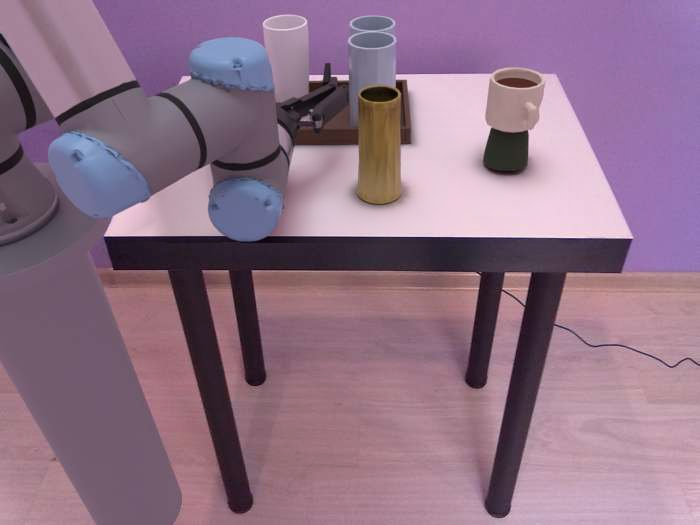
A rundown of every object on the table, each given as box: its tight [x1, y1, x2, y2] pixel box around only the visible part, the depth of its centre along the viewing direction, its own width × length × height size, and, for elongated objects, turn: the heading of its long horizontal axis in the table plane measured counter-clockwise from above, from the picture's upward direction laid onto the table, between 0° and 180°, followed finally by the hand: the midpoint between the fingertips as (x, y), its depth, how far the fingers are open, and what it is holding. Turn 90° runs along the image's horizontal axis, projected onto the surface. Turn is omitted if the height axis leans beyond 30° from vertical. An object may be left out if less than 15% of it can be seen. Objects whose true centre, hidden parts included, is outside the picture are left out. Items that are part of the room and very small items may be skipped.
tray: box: [275, 79, 412, 146], centre depth 101 cm, size 26×18×3 cm
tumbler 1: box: [349, 14, 396, 38], centre depth 100 cm, size 7×7×14 cm
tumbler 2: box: [347, 31, 398, 127], centre depth 94 cm, size 7×7×14 cm
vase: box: [356, 85, 403, 205], centre depth 80 cm, size 6×6×14 cm
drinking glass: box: [262, 14, 311, 109], centre depth 97 cm, size 7×7×15 cm
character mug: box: [482, 66, 546, 172], centre depth 85 cm, size 11×7×13 cm, turn 15°
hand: (282, 72), depth 91 cm, fingers open, 13 cm apart
